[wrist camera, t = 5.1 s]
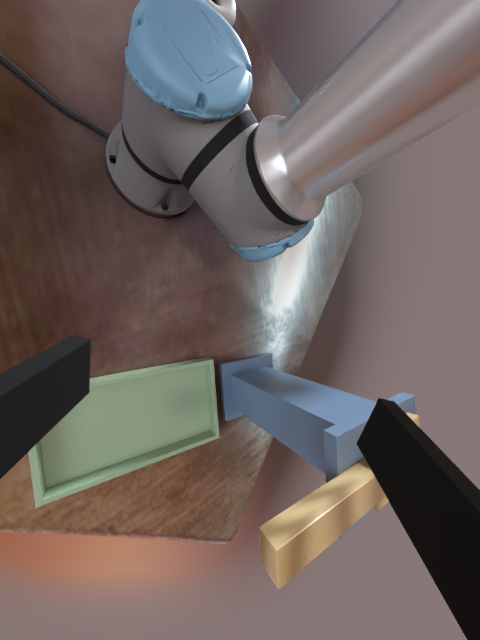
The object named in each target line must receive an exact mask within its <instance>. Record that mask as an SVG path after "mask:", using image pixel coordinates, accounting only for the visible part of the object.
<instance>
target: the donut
mask: <svg viewBox="0 0 480 640" xmlns="http://www.w3.org/2000/svg"><path fill="white" fill-rule="evenodd" d="M203 1H204V2H206V3H207V4H209V5H210V6H211V7H213V8H214V9H215V10H216V11H217V12H218V13H219V14H221V15H222V16H223V17H224V18H225V19H226V21H227V22H228V23H229V24H230V25H231V27H232V26H233V24H234V21H235V18H236V5H235V0H215V2H216V3H217V5H216V4H215V3H214V2H213V1H212V0H203Z"/></svg>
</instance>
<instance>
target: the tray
mask: <svg viewBox="0 0 480 640" xmlns="http://www.w3.org/2000/svg"><path fill="white" fill-rule="evenodd" d="M218 438H219V425H218V412H217V399H216V387H215V374H214V361H213V359H211V358H209V357H204V358H198V359H193V360H187V361H182V362H176V363H171V364H165V365H160V366H155V367H149V368H144V369H138V370H133V371H127V372H122V373H116V374H111V375H106V376H100V377H95V378H90V393H89V394H88V395H86V396H85V397H84V398H83V399H82V400H81V401H80V402H79V403H78V404H77V405H76V406H75V407H74V408H73V409H72V410H71V411H70V412H69V413H68V414H67V415H66V416H65V417H64V418H63V419H62V420H61V421H60V422H59V423H58V424H56V425H55V426H54V427H53V428H52V429H51V430H50V431H49V432H48V433H47V434H46V435H45V436H44V437H43V438H42V439H41V440H40V441H39V442H38V443H37V444H36V445H35V446H34V447H33V448H32V449H31V450H30V451H29V452H28V455H29V462H30V470H31V478H32V485H33V493H34V500H35V508H38V507H40V506H43V505H45V504H48V503H51V502H53V501H56V500H58V499H61V498H64V497H66V496H69V495H71V494H74V493H77V492H79V491H82V490H84V489H87V488H90V487H92V486H95V485H98V484H100V483H103V482H105V481H108V480H111V479H113V478H116V477H118V476H121V475H124V474H126V473H129V472H131V471H134V470H137V469H139V468H142V467H145V466H147V465H150V464H152V463H155V462H158V461H160V460H163V459H165V458H168V457H171V456H173V455H176V454H178V453H181V452H184V451H186V450H189V449H192V448H194V447H197V446H199V445H202V444H205V443H207V442H210V441H212V440H215V439H218Z"/></svg>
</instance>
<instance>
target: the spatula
mask: <svg viewBox="0 0 480 640" xmlns="http://www.w3.org/2000/svg"><path fill="white" fill-rule="evenodd" d="M406 414H407V415H408V416H409V417H410V418H411V419H412V420H413V421H414V422H415V423H416V425H417V426H418V427H419V416H418V415H415V414H412V413H409V412H407V413H406ZM387 502H389V500H388V499H387V497H386V495H385V493H384V492H383V490H382V488H381V486H380V485H379V483H378V481H377V479H376V477H375V476H374V474H373V472H372V470H371V469H370V467H369V465H368V463H367V462H366V460H365V458H363V459H362V460H360V461H359V462H357V463H356V464H354V465H353V466H351V467H350V468H348V469H347V470H345V471H344V472H342V473H341V474H339V475H338V476H336V477H335V478H333V479H332V480H330V481H329V482H327V483H326V484H324V485H323V486H321V487H319V488H318V489H317V490H315V491H313V492H312V493H310V494H309V495H307V496H306V497H304V498H303V499H301V500H300V501H298V502H297V503H295V504H294V505H293V506H291V507H289V508H288V509H286V510H285V511H283V512H282V513H280V514H279V515H277V516H276V517H274V518H272V519H271V520H270V521H268V522H266V523H265V524H263V525H262V526H260V527H259V536H260V550H261V563H262V564H263V566H264V568H265V569H266V571H267V572H268V574H269V576H270V577H271V579H272V580H273V582H274V583H275V585H276V587H277V588H278V589H280V588H281V587H282V586H283V585H284V584H286V583H287V582H288V581H289V580H290V579H291V578H292V577H294V576H295V575H296V574H297V573H298V572H299V571H300V570H302V569H303V568H304V567H305V566H306V565H307V564H308V563H310V562H311V561H312V560H313V559H314V558H315V557H317V556H318V555H319V554H320V553H321V552H322V551H324V550H325V549H326V548H327V547H328V546H329V545H330V544H332V543H333V542H334V541H335V540H336V539H337V538H338V537H340V536H341V535H342V534H343V533H344V532H345V531H347V530H348V529H349V528H350V527H351V526H352V525H353V524H355V523H356V522H357V521H358V520H359V519H360V518H362V517H363V516H364V515H365V514H366V513H367V512H368V511H370V510H371V509H372V508H373V509H375V510H376V511H379V510H380V509H381V508H382V507H383V506H384V505H385V504H386V503H387Z"/></svg>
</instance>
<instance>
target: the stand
mask: <svg viewBox="0 0 480 640" xmlns="http://www.w3.org/2000/svg"><path fill="white" fill-rule="evenodd" d="M218 369H219V382H220V395H221V408H222V419H223V420H224V421H225V422H227V421H230V420H233V419H235V418H238V417H241V416H246V417H247V418H248V419H250V420H251V421H253V422H254V423H255V424H257V425H258V426H260V427H261V428H262V429H264V430H265V431H266V432H268V433H269V434H271V435H272V436H273V437H275V438H276V439H278V440H279V441H280V442H282V443H283V444H285V445H286V446H287V447H289V448H290V449H291V450H293V451H294V452H296V453H297V454H298V455H300V456H301V457H303V458H304V459H305V460H307V461H308V462H309V463H311V464H312V465H314V466H315V467H316V468H318V469H319V470H321V471H322V472H323V473H325V474H326V483H327V482H329V481H330V480H332V479H333V478H335V477H336V476H338V475H339V474H341V473H342V472H344V471H345V470H347V469H348V468H350V467H351V466H353V465H354V464H356V463H357V462H359V461H360V460H362V459H363V458H364V456H363V455H362V453H361V451H360V449H359V447H358V446H357V444H356V443H357V441H358V439H359V437H360V435H361V433H362V431H363V429H364V427H365V425H366V423H367V421H368V419H369V417H370V415H371V413H372V411H373V409H374V407H375V405H376V403H377V402H374V401H371V400H368V399H365V398H362V397H359V396H356V395H353V394H350V393H347V392H343V391H340V390H337V389H334V388H331V387H328V386H325V385H322V384H318V383H315V382H312V381H309V380H306V379H303V378H299V377H297V376H293V375H290V374H287V373H284V372H281V371H278V370H275V369H273V366H272V354H269V353H267V354H262V355H257V356H252V357H247V358H243V359H238V360H233V361H228V362H223V363H218ZM387 400H390V401H394V402H395V403H396V404H397V405H398V406H399V407H400V408H401V409H402V410H403V411H404V412H405V413H407V412H409V413H412V414H415V413H416V412H415V395H411V394H408V393H404V392H401V393H399V394H397V395H395V396H393V397H391V398H389V399H387ZM415 415H416V414H415ZM374 510H375V509H373V508H372V509H371V510H370V511H368V512H367V513H366V514H365V515H364V516H363V517H362V518H360V519H359V520H358V521H357V522H356V523H355V524H353V525H352V526H351V527H350V528H349V529H348V530H347V531H345V532H344V533H343V534H342V535H341V536H340V538H341V539H342V538H343V537H344V536H345V535H346V534H347V533H348V532H350V531H351V530H352V529H353V528H354V527H355V526H356V525H357V524H359V523H360V522H361V521H362V520H363V519H364V518H366V517H367V516H368V515H369V514H370V513H371V512H372V511H374Z"/></svg>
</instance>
